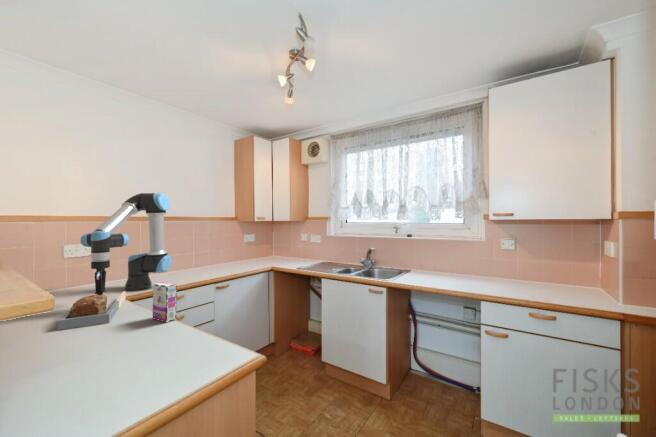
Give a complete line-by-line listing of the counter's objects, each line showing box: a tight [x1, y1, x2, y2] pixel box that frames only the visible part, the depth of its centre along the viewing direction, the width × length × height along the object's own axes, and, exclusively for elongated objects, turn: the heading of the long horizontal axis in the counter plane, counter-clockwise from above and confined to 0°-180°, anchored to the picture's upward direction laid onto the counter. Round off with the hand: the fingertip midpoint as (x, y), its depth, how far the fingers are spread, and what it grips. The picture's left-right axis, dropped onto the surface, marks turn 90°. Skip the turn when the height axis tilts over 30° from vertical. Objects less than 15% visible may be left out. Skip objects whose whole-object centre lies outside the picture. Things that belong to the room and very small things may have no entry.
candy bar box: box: [152, 281, 178, 322], centre depth 126 cm, size 11×5×16 cm, turn 62°
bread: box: [69, 294, 108, 318], centre depth 128 cm, size 19×11×10 cm, turn 30°
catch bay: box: [57, 290, 127, 331], centre depth 137 cm, size 17×46×4 cm, turn 29°
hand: (100, 305), depth 141 cm, fingers closed
